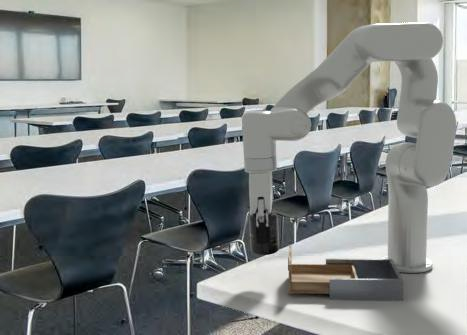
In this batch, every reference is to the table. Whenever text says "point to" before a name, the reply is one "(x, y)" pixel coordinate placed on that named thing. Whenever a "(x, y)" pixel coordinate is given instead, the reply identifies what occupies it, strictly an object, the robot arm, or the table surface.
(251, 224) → the supplement bottle
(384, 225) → the table surface
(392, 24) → the robot arm
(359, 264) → the housing
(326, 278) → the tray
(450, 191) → the table surface
